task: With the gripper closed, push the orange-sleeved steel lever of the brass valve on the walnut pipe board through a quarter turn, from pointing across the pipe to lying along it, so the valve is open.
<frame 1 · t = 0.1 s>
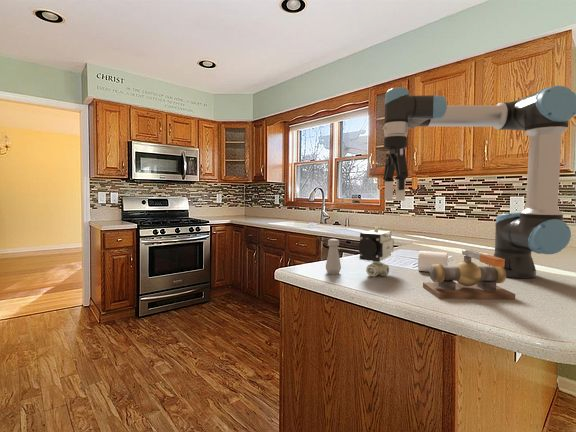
hand: (393, 200, 116), 28 cm above the counter, tool pointing down, fingers open, 13 cm apart
salt shaker: (333, 273, 129), on the counter
valve mount: (466, 292, 105), on the counter
white rectangular block: (433, 271, 135), on the counter
lever: (480, 256, 97), point 13 cm above the counter, hinge at 90.0°
ball valve: (376, 275, 127), on the counter
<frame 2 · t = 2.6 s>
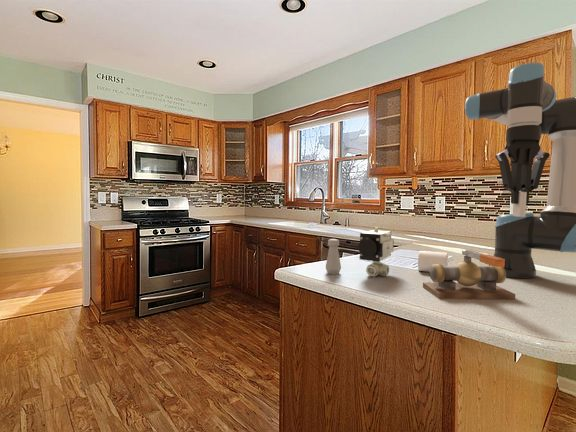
hand: (519, 216, 91), 24 cm above the counter, tool pointing down, fingers closed
nothing on the counter moved.
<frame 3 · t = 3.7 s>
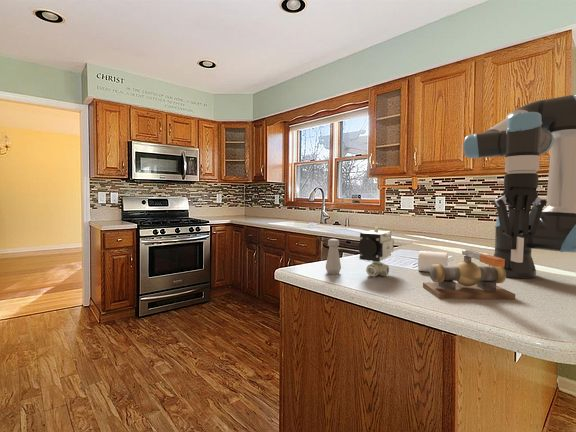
hand: (516, 261, 92), 12 cm above the counter, tool pointing down, fingers closed
nothing on the counter moved.
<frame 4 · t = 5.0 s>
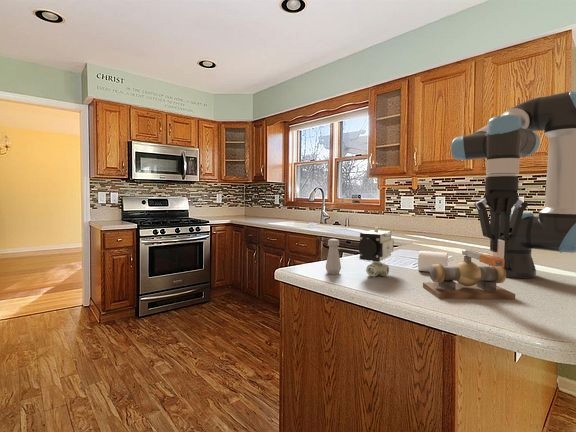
hand: (497, 263, 92), 11 cm above the counter, tool pointing down, fingers closed
lever: (480, 256, 97), point 13 cm above the counter, hinge at 89.8°, touching gripper
everything else where it was.
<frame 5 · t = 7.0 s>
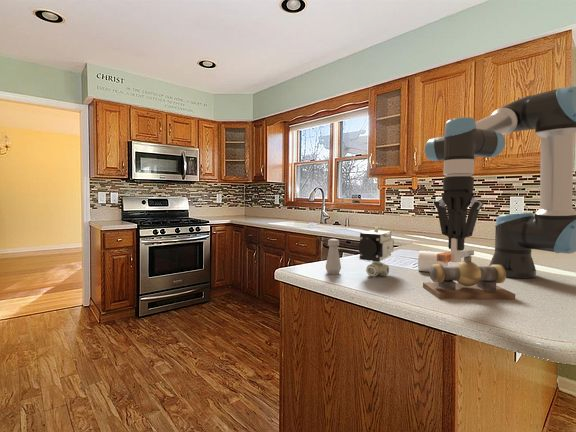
hand: (455, 261, 95), 11 cm above the counter, tool pointing down, fingers closed
lever: (456, 254, 100), point 12 cm above the counter, hinge at 39.3°, touching gripper
everything else where it was.
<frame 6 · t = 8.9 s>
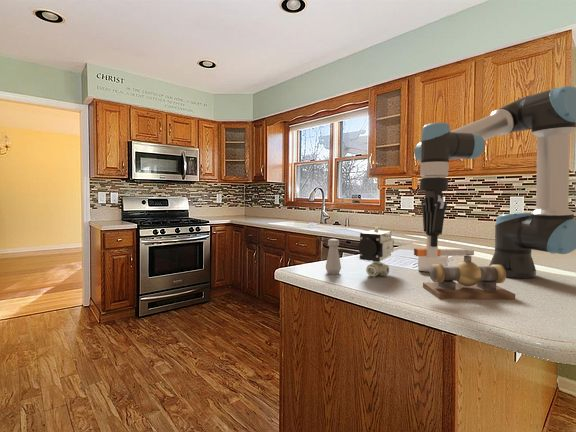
hand: (431, 257, 102), 11 cm above the counter, tool pointing down, fingers closed
lever: (444, 252, 104), point 12 cm above the counter, hinge at 2.0°, touching gripper
everything else where it was.
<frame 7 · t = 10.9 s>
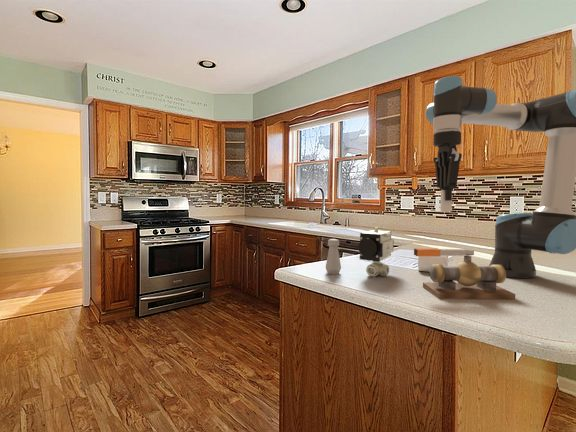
hand: (446, 211, 103), 25 cm above the counter, tool pointing down, fingers closed
lever: (444, 252, 104), point 12 cm above the counter, hinge at 2.0°
everything else where it was.
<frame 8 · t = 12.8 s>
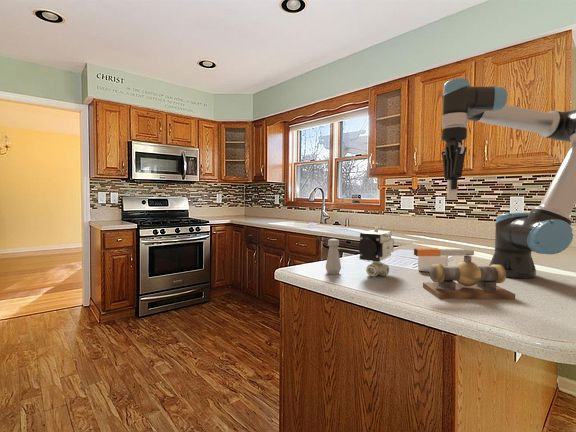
hand: (451, 199, 115), 28 cm above the counter, tool pointing down, fingers closed
nothing on the counter moved.
at the end: lever at +2° (first picture: +90°) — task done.
